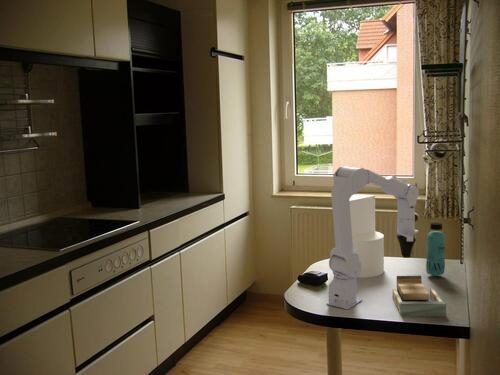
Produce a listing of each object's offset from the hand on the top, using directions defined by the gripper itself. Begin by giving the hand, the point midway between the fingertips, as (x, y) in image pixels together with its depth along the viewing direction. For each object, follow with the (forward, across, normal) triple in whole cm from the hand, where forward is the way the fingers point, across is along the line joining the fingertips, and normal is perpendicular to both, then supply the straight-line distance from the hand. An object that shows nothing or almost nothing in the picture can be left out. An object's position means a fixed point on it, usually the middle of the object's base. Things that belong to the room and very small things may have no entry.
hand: (405, 256), depth 185 cm
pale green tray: (+10, -19, 0) cm, 22 cm away
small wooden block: (+10, -11, 0) cm, 15 cm away
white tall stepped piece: (+11, +17, +14) cm, 24 cm away
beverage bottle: (+11, +9, -12) cm, 19 cm away
